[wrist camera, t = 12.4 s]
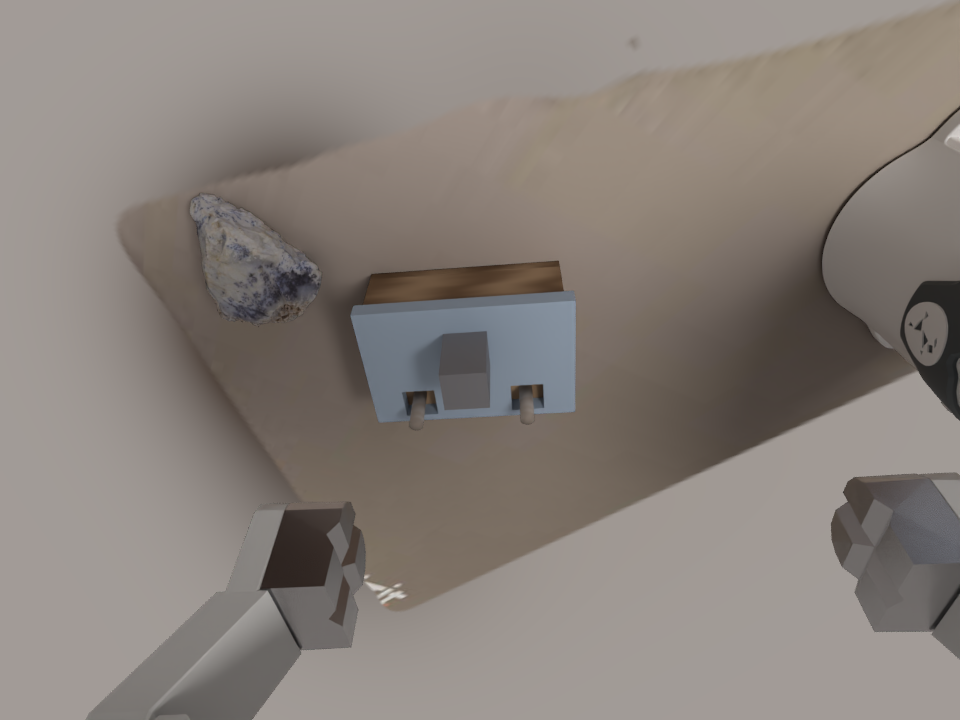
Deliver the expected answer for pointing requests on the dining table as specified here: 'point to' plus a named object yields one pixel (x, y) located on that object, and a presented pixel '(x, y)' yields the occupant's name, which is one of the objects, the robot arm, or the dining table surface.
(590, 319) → the dining table surface
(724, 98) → the dining table surface
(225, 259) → the mineral specimen
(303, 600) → the robot arm
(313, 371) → the dining table surface
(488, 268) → the wooden box with pegs
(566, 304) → the grey peg base plate
